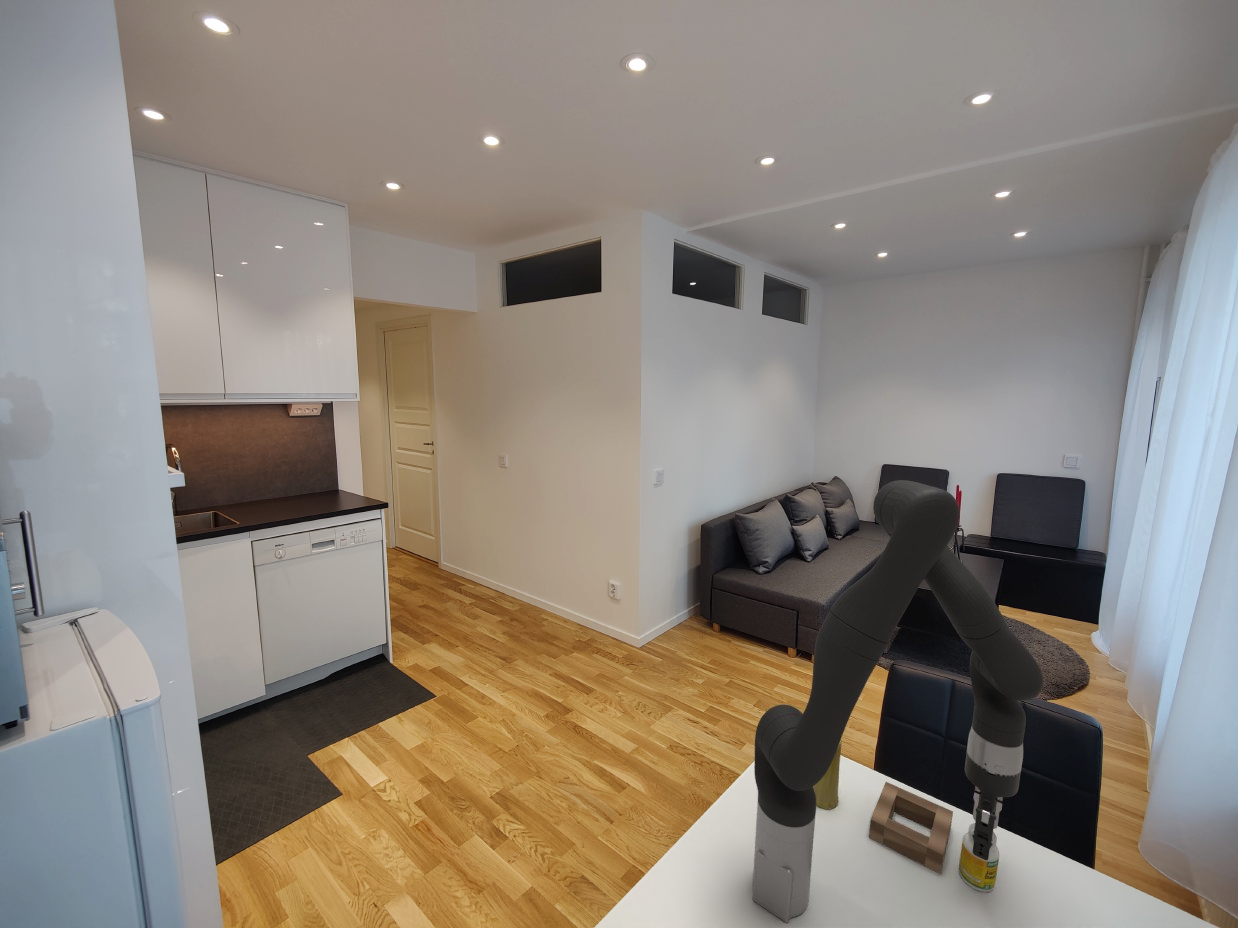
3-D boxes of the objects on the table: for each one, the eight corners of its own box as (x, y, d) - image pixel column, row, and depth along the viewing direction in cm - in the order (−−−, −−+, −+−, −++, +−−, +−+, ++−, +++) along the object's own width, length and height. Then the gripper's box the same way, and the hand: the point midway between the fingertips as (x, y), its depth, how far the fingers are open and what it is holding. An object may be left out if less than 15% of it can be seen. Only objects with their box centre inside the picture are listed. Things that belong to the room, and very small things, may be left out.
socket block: (940, 873, 94) (943, 854, 94) (868, 836, 102) (870, 818, 101) (950, 828, 104) (953, 811, 103) (884, 797, 111) (885, 781, 110)
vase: (841, 794, 112) (846, 734, 109) (835, 814, 107) (840, 752, 104) (811, 782, 115) (815, 723, 113) (804, 801, 110) (808, 740, 107)
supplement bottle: (966, 859, 97) (973, 814, 95) (1000, 882, 93) (1007, 835, 91) (952, 874, 94) (958, 828, 93) (986, 899, 90) (993, 851, 88)
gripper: (972, 725, 97) (962, 801, 100) (961, 771, 86) (951, 855, 89) (1023, 742, 92) (1011, 822, 95) (1019, 794, 81) (1006, 882, 84)
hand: (982, 838), depth 92 cm, fingers open, 8 cm apart
